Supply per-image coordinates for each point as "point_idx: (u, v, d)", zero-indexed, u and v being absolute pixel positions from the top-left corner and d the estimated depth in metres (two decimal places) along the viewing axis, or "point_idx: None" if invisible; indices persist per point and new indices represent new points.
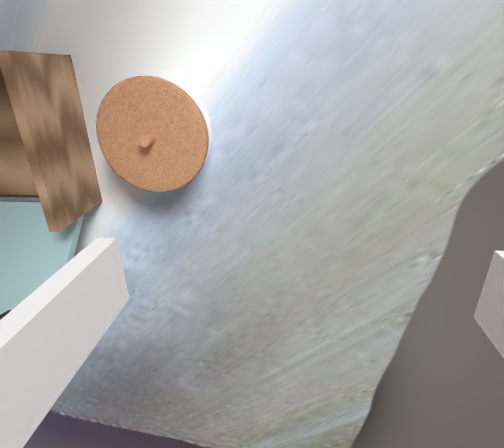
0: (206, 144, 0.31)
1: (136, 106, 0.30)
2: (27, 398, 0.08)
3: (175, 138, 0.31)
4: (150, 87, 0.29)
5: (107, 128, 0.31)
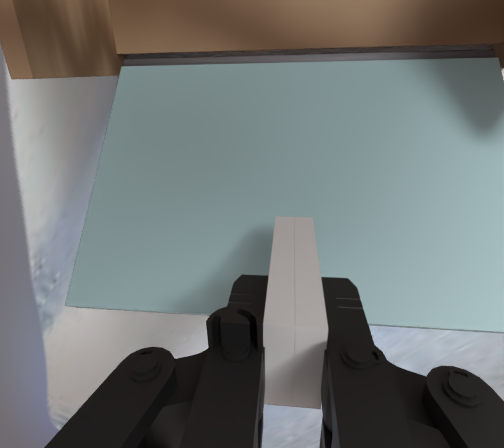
0: None
1: None
2: None
3: None
4: None
5: None
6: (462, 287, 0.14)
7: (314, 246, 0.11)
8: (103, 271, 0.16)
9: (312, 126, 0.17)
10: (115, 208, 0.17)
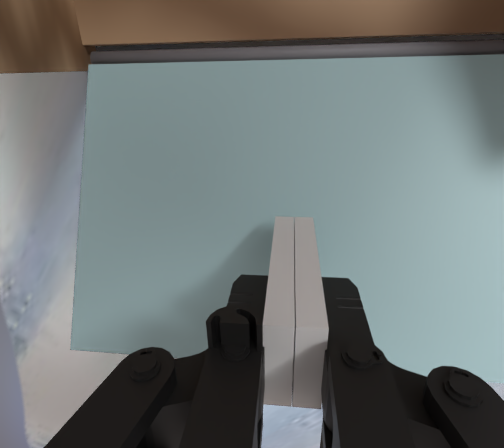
0: None
1: None
2: None
3: None
4: None
5: None
6: (462, 338, 0.14)
7: (314, 246, 0.11)
8: (103, 316, 0.16)
9: (315, 150, 0.15)
10: (105, 248, 0.16)
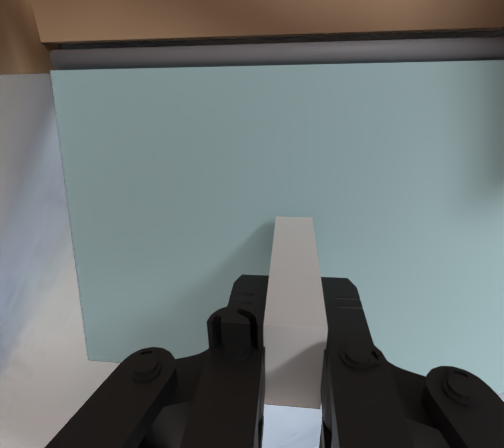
0: None
1: None
2: None
3: None
4: None
5: None
6: (449, 355, 0.15)
7: (314, 246, 0.11)
8: (113, 333, 0.17)
9: (316, 176, 0.14)
10: (105, 273, 0.16)
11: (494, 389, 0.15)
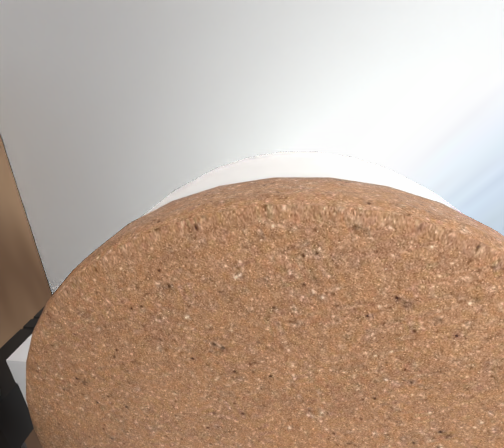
0: None
1: (245, 356, 0.05)
2: None
3: None
4: (361, 268, 0.04)
5: (77, 418, 0.06)
6: None
7: None
8: None
9: None
10: None
11: None
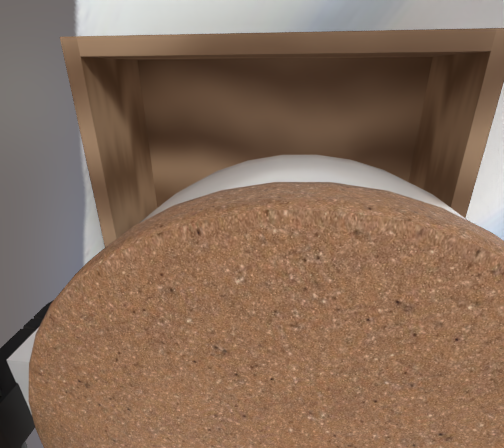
0: None
1: (247, 359, 0.05)
2: None
3: None
4: (362, 273, 0.04)
5: (80, 420, 0.06)
6: None
7: None
8: None
9: None
10: None
11: None
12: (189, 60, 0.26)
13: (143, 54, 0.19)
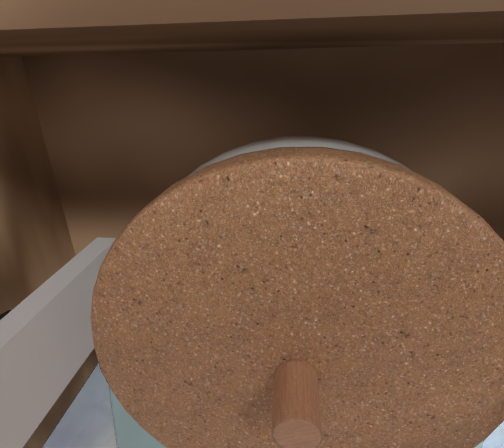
0: None
1: (260, 274, 0.07)
2: (27, 398, 0.08)
3: (402, 383, 0.08)
4: (341, 206, 0.06)
5: (131, 334, 0.08)
6: None
7: None
8: None
9: None
10: None
11: None
12: (120, 55, 0.13)
13: None
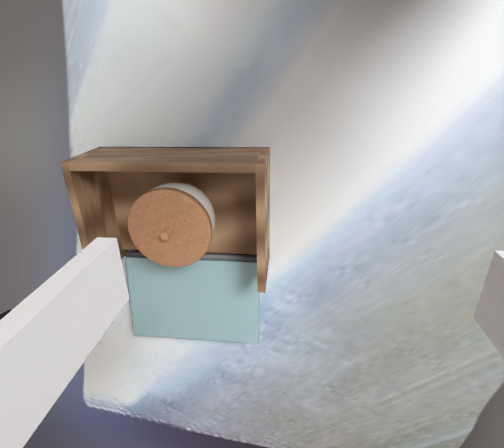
0: (210, 235, 0.41)
1: (158, 209, 0.40)
2: (27, 398, 0.08)
3: (187, 231, 0.41)
4: (169, 197, 0.40)
5: (135, 223, 0.42)
6: (237, 333, 0.54)
7: None
8: (141, 327, 0.56)
9: (196, 285, 0.53)
10: (139, 309, 0.55)
11: (250, 342, 0.54)
12: None
13: (100, 170, 0.39)
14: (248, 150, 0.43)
